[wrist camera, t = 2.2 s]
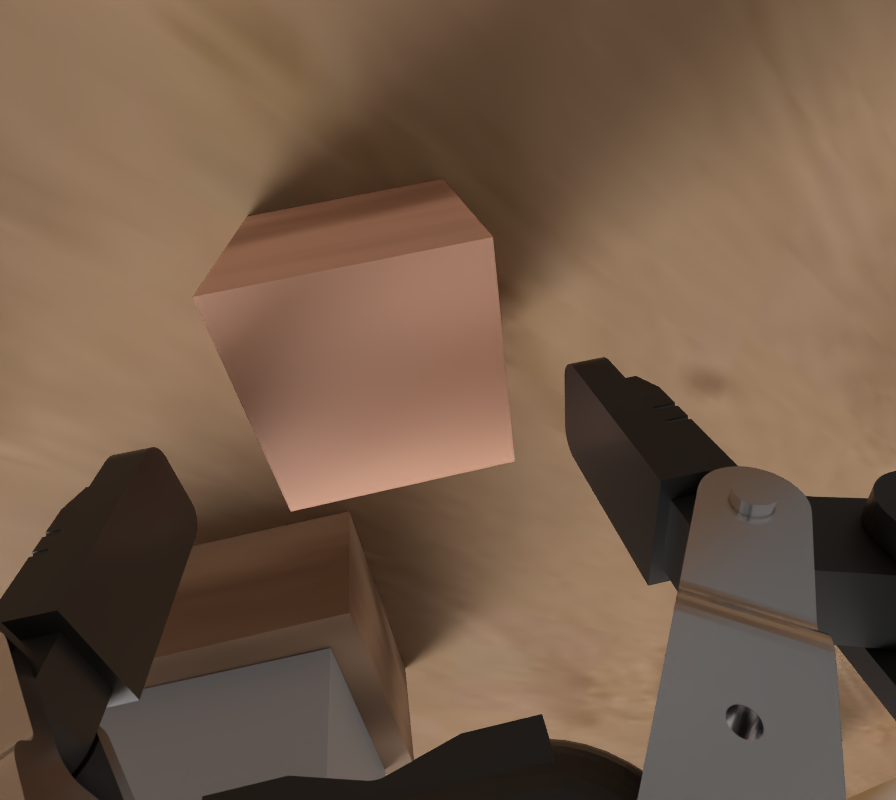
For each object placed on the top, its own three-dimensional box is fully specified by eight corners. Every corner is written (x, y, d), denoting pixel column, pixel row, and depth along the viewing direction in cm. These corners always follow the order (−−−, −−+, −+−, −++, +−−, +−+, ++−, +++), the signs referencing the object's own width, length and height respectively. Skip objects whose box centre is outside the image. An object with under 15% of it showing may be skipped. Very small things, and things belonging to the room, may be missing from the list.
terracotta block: (247, 215, 14) (192, 297, 9) (442, 178, 14) (492, 237, 9) (307, 382, 17) (290, 511, 12) (467, 349, 17) (514, 461, 12)
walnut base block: (47, 571, 20) (-31, 701, 16) (349, 504, 21) (349, 612, 17) (179, 715, 27) (148, 833, 23) (404, 661, 27) (414, 766, 23)
